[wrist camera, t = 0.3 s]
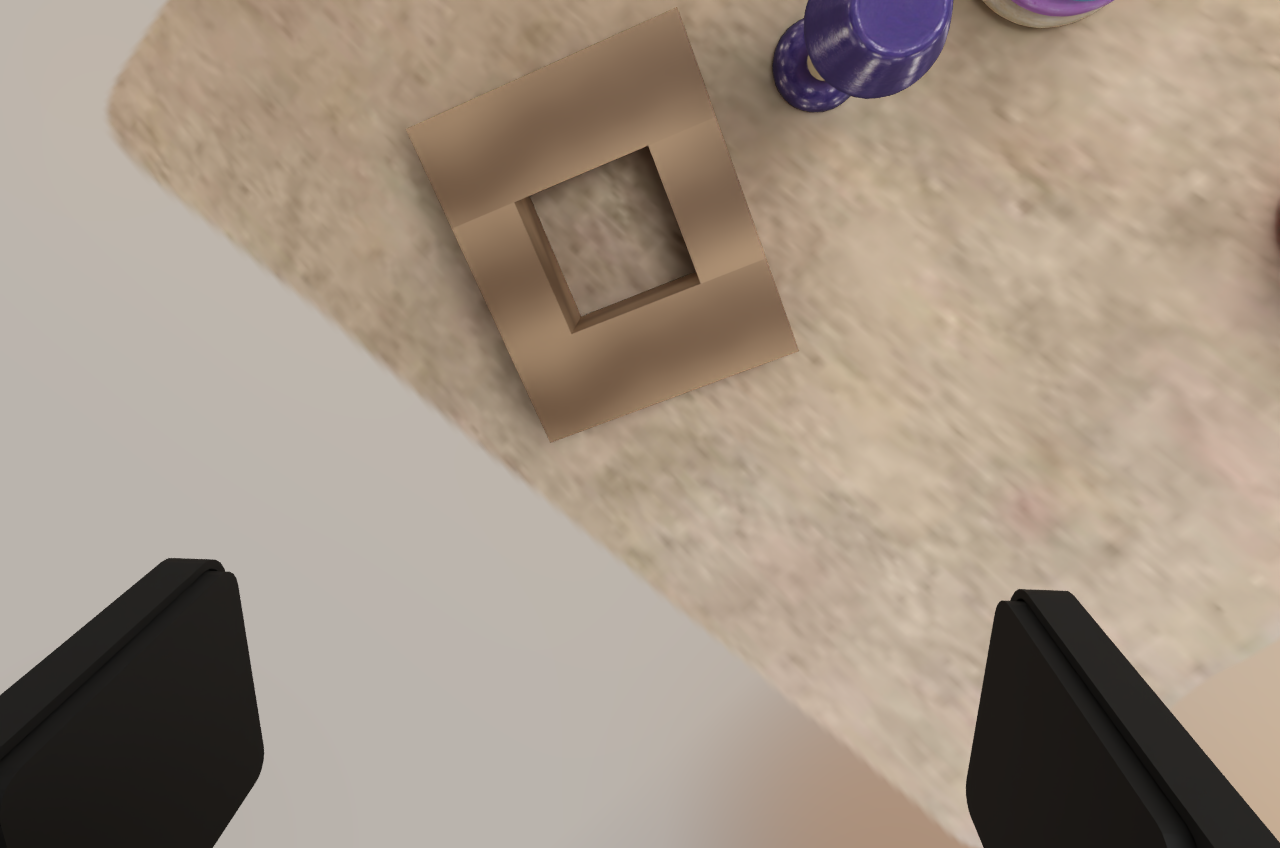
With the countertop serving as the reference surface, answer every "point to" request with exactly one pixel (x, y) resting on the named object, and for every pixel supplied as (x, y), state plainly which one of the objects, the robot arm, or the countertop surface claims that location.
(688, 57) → the brown flat frame block
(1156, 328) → the countertop surface
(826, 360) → the countertop surface
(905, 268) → the countertop surface
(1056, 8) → the stacking toy
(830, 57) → the toy lamp
